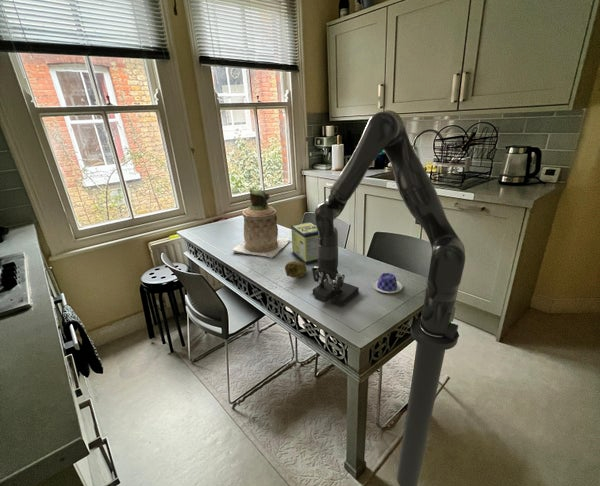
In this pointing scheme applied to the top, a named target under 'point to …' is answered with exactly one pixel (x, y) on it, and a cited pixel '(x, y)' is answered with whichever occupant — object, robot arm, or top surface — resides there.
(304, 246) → the protein box
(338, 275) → the robot arm
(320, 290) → the black rectangular block
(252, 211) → the cookie jar
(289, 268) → the potato
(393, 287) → the pudding
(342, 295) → the base pad
